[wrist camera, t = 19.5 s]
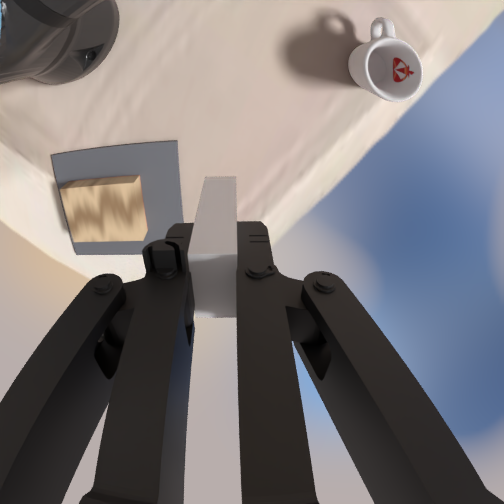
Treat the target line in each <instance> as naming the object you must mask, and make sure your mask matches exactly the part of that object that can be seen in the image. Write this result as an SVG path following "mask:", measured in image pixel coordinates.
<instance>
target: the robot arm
mask: <svg viewBox="0 0 504 504" xmlns="http://www.w3.org/2000/svg"><path fill="white" fill-rule="evenodd" d="M118 28H119V11H118V7H117V4H116V2H115V0H0V84H3V83H7V82H11V81H15V80H19V79H24V78H28V77H31V78H33V79H36V80H38V81H41V82H43V83H47V84H63V83H68V82H72V81H76V80H78V79H80V78H82V77H84V76H86V75H88V74H89V73H91V72H92V71H93V70H94V69H95V68H97V67H98V66H99V65H100V64H101V62H102V61H103V60H104V59H105V58H106V56H107V55H108V53H109V52H110V50H111V48H112V46H113V44H114V42H115V39H116V36H117V33H118ZM142 254H143V259H144V264H145V269H146V275H145V277H144V278H142V279H139V280H136V281H132V282H127V283H123V282H122V279H121V278H120V277H119V276H117V275H115V274H102V275H98V276H96V277H94V278H92V279H91V280H90V281H89V282H88V283H87V284H86V285H85V286H84V288H83V289H82V290H81V291H80V293H79V294H78V295H77V296H76V297H75V299H74V300H73V301H72V302H71V304H70V305H69V306H68V307H67V309H66V310H65V311H64V312H63V314H62V315H61V316H60V317H59V319H58V320H57V321H56V323H55V324H54V325H53V327H52V328H51V329H50V331H49V332H48V333H47V335H46V336H45V337H44V339H43V340H42V341H41V343H40V344H39V345H38V347H37V348H36V350H35V351H34V352H33V354H32V355H31V357H30V358H29V360H28V361H27V362H26V364H25V365H24V367H23V368H22V370H21V371H20V373H19V374H18V376H17V377H16V379H15V380H14V382H13V383H12V385H11V387H10V388H9V390H8V391H7V393H6V394H5V396H4V398H3V399H2V401H1V402H0V504H61V503H62V501H63V499H64V496H65V494H66V492H67V490H68V487H69V485H70V483H71V480H72V478H73V476H74V474H75V471H76V469H77V467H78V465H79V463H80V460H81V459H82V456H83V454H84V452H85V450H86V448H87V446H88V444H89V442H90V439H91V437H92V435H93V433H94V431H95V429H96V427H97V425H98V423H99V421H100V419H101V417H102V415H103V413H104V411H105V409H106V407H107V405H108V403H109V405H108V410H107V414H106V419H105V424H104V428H103V433H102V439H101V444H100V449H99V455H98V461H97V467H96V474H95V479H94V485H93V487H92V489H91V491H90V492H88V493H87V494H85V495H84V496H83V497H82V499H81V500H80V502H79V504H183V501H184V470H185V448H186V431H187V415H188V401H189V388H190V376H191V363H192V353H193V343H194V332H195V327H194V320H193V317H194V310H195V317H205V318H206V317H209V318H211V317H212V318H216V317H217V318H218V317H221V318H222V317H237V362H238V363H237V365H238V405H239V438H240V465H241V489H242V490H241V491H242V504H319V502H318V500H317V497H316V492H315V485H314V478H313V471H312V465H311V458H310V451H309V446H308V439H307V432H306V425H305V420H304V413H303V407H302V400H301V395H300V388H299V382H298V376H297V370H296V365H295V359H294V353H293V347H292V341H293V342H294V346H295V348H296V350H297V351H298V353H299V355H300V357H301V359H302V361H303V363H304V365H305V367H306V369H307V371H308V373H309V375H310V377H311V379H312V381H313V383H314V385H315V387H316V389H317V391H318V393H319V395H320V397H321V399H322V401H323V403H324V405H325V407H326V409H327V411H328V413H329V415H330V417H331V419H332V421H333V423H334V425H335V426H336V429H337V431H338V433H339V435H340V436H341V439H342V441H343V442H344V444H345V446H346V448H347V450H348V452H349V454H350V456H351V458H352V460H353V462H354V464H355V466H356V468H357V470H358V472H359V474H360V476H361V478H362V480H363V482H364V484H365V485H366V487H367V489H368V492H369V494H370V496H371V497H372V499H373V501H374V503H375V504H504V502H503V501H502V500H500V499H499V498H498V497H496V496H495V495H494V494H492V493H491V492H489V491H488V490H487V489H486V488H485V486H484V484H483V482H482V481H481V479H480V477H479V475H478V474H477V472H476V470H475V469H474V467H473V465H472V464H471V462H470V461H469V459H468V457H467V456H466V454H465V453H464V451H463V449H462V447H461V446H460V444H459V443H458V441H457V440H456V438H455V436H454V435H453V434H452V432H451V430H450V429H449V427H448V426H447V424H446V423H445V421H444V420H443V418H442V416H441V415H440V414H439V412H438V411H437V409H436V407H435V406H434V404H433V403H432V401H431V400H430V398H429V397H428V396H427V394H426V393H425V392H424V390H423V388H422V387H421V385H420V384H419V382H418V381H417V380H416V378H415V377H414V375H413V374H412V373H411V371H410V370H409V368H408V367H407V365H406V364H405V363H404V361H403V360H402V359H401V357H400V356H399V354H398V353H397V352H396V350H395V349H394V347H393V346H392V345H391V343H390V342H389V340H388V339H387V338H386V336H385V335H384V334H383V332H382V331H381V330H380V328H379V327H378V326H377V324H376V323H375V322H374V320H373V319H372V318H371V316H370V315H369V314H368V312H367V311H366V310H365V308H364V307H363V306H362V304H361V303H360V302H359V301H358V299H357V298H356V297H355V295H354V294H353V293H352V292H351V290H350V289H349V288H348V287H347V285H346V284H345V283H344V281H343V280H342V279H341V278H339V277H338V276H337V275H335V274H332V273H329V272H324V271H319V272H313V273H310V274H308V275H307V276H306V277H305V278H304V281H301V280H296V279H292V278H288V277H286V276H284V275H282V274H281V273H279V271H278V269H277V267H276V266H275V265H274V262H273V257H272V251H271V246H270V240H269V235H268V229H267V227H266V226H265V225H264V224H263V223H262V222H261V221H248V222H237V205H236V176H233V177H205V180H204V184H203V188H202V192H201V196H200V201H199V205H198V209H197V213H196V218H195V222H194V223H175V224H174V225H173V226H172V227H170V228H169V229H168V231H167V234H166V237H165V239H160V240H156V241H153V242H151V243H149V244H148V245H146V246H145V247H144V248H143V250H142Z"/></svg>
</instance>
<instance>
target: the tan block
mask: <svg viewBox="0 0 504 504" xmlns="http://www.w3.org/2000/svg"><path fill="white" fill-rule="evenodd" d="M60 192H61V197H62V201H63V205H64V209H65V213H66V216H67V220H68V224H69V227H70V231H71V234H72V238H73V241H74V242H104V241H143V240H144V238H145V236H146V233H147V231H148V228H147V222H146V215H145V209H144V202H143V195H142V188H141V180H140V175H132V176H118V177H107V178H96V179H86V180H76V181H69V182H67V183H66V184H65V185H64V186H63V187H62V188H61V189H60Z"/></svg>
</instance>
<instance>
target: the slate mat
mask: <svg viewBox="0 0 504 504" xmlns="http://www.w3.org/2000/svg"><path fill="white" fill-rule="evenodd" d="M51 156H52V161H53V166H54V171H55V176H56V181H57V185H58V190H59V194H60V198H61V202H62V206H63V210H64V214H65V218H66V222H67V225H68V229H69V232H70V236H71V239H72V242H73V246H74V249H75V252H76V255H135V254H142V250H143V248H144V247H145V246H146V245H148V244H149V243H151V242H153V241H156V240H160V239H165V237H166V234H167V231H168V229H169V228H170V227H172V226H173V225H174V224H175V223H184V221H183V211H182V199H181V187H180V174H179V159H178V143H177V141H160V142H147V143H135V144H125V145H116V146H107V147H99V148H91V149H84V150H77V151H71V152H64V153H58V154H53V155H51ZM132 175H140V180H141V188H142V195H143V202H144V209H145V215H146V222H147V228H148V231H147V233H146V236H145V238H144V240H143V241H104V242H74V241H73V238H72V234H71V231H70V227H69V224H68V220H67V216H66V213H65V209H64V205H63V201H62V197H61V192H60V189H61V188H62V187H63V186H64V185H65V184H66V183H67V182H69V181H76V180H86V179H96V178H107V177H118V176H132Z"/></svg>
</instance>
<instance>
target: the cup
mask: <svg viewBox="0 0 504 504" xmlns="http://www.w3.org/2000/svg"><path fill="white" fill-rule="evenodd" d="M382 26H383V31H382V35H381V33H380V31H381V27H382ZM348 68H349V72H350V75H351V77H352V78H353V80H354V81H355V82H356V83H357V84H358V85H359V86H360V87H362V88H364V89H365V90H367V91H369V92H371V93H373V94H375V95H377V96H379V97H380V98H382V99H384V100H387V101H391V102H402V101H405V100H408V99H410V98H411V97H413V96H414V95H415V94H416V93H417V91H418V90H419V88H420V86H421V83H422V79H423V68H422V64H421V61H420V58H419V56H418V54H417V53H416V51H415V50H414V49H413V48H412V47H411V46H410V45H409V44H408V43H406V42H405V41H403V40H401V39H398V38H396V37H395V30H394V25H393V23H392V22H391V21H390V20H389V19H387V18H382V17H380V18H376V19H375V20H374V21H373V22H372V24H371V40H370V42H367V43H365V44H362V45H360V46H358V47H357V48H355V49H354V50H353V52H352V53H351V55H350V57H349V60H348Z"/></svg>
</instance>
